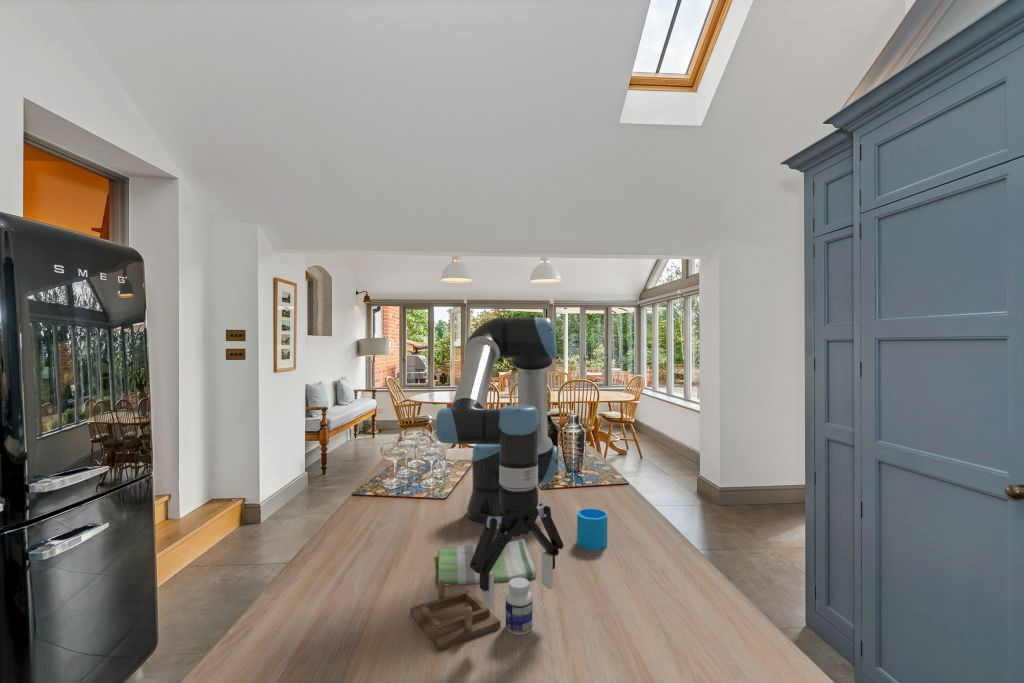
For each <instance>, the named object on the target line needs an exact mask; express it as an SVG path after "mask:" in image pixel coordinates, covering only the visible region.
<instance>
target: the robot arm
mask: <svg viewBox="0 0 1024 683" xmlns="http://www.w3.org/2000/svg"><path fill="white" fill-rule="evenodd" d="M555 332H556V331H555V327H554V322H553V320H551V318H549V317H539V316H533V317H532V316H531V317H528V316H527V317H525V316H524V317H520V316H519V317H496V318H493V319H490V320H488V321H485V322H483V324H481V325H480V326H478V327H477V328H476V329H475V330H474V331H473V332H472V333H471V334H470V336H469V337H468V339H467V341H466V343H465V347H464V354H465V356H466V357H465V360H464V364H463V367H462V370H461V375H460V377H459V381H458V384H457V387H456V390H455V394H454V397H453V400H452V404H451V407H447V408H441V409H440V410H438V412H437V414H436V417H435V418H436V420H435V435H436V438H437V440H438V442H440V443H442V444H450V445H451V444H452V445H474V446H473V448H472V457H471V461H472V492H471V495H470V497H469V500H468V503H467V507H466V509H467V510H466V516H467V518H469V520H472V521H473V522H477V523H484V528H483V530H482V533H481V535H480V538H479V540H478V544H477V545H476V546H477V548H476V550H475V553H474V555H473V558H472V560H471V563H470V568H471V569H472V570H474V571H475V572H476V573H480V583H479V588H480V589H481V590H482V600H483V601H482V603H483V604H484V605H485V606H486V607H487V608H488V609H489V610H490V611H492V610H494V609H495V583H494V573H493V572H492V571H491V569H492V568H493V566H494V564H495V563H496V561H497V559H498V558H499V556H500V554H501V553H502V551H503V549H504V548H505V546H506V544H507V543H508V542H512V541H511V540H512V539H513V538H518V537H520V536H523V535H524V536H525V535H529V533H531V534H532V536H533V537H534V539H536V541H537V542H538V543H539V544H540V545H541V546H542V547H543V549H544V550H543V551H541V554H540V555H541V585H542V586H544V587H546V588H547V589H548V590H553V586H554V583H553V574H554V572H553V570H555V567H556V557H557V556H559V554H560V550H563V548H564V546H565V545H564V542H563V540H562V539H561V535H560V533H559V531H558V529H557V527H556V524H555V522H554V520H553V518H552V511H551V507H550V506H548V505H546V504H544V503H542V502H541V503H539V488H538V486H537V485H541V484H550V483H552V482H553V481H554V478H555V476H556V468H557V459H558V447H557V446H556V445H554V444H553V441H552V438H550V437H549V436H548V434H549V433H548V369H549V368H550V367H551V366H552V365H553V360H555V359H556V358H558V351H557V350H558V349H557V340H556V333H555ZM499 359H511V363H512V366H513V367H514V368H515V369H516V370H517V388H518V389H517V390H518V391H517V392H518V396H517V397H518V404H508V405H504V406H502V407H501V408H500V409H499V408H493V409H492V408H490V409H489V408H486V405H487V400H488V396H489V392H490V391H489V390H490V386H491V381H492V375H493V370H494V366H495V363H497V362H498V360H499ZM538 517H539V518H540V520H541V523H542V525H543V528H544V529H545V531H546V533H547V534H546V535H547V536H548V538H547V536H546V535H545V534H544V532H543V531H542V530H541V528H540V527H539V526H538V524H537V523H536V521H537V519H538ZM499 525H500V526H499ZM559 549H560V550H559Z"/></svg>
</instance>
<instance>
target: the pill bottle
mask: <svg viewBox="0 0 1024 683" xmlns="http://www.w3.org/2000/svg"><path fill="white" fill-rule="evenodd" d="M533 621H534V620H533V594H532V592H531V591H530V581H529V579H524V578H513V579H511V580H510V581H509V582H508V591H507V593H506V594H505V628H506V631H508V632H509V633H510V634H512V635H515V636H524V635H526V634H528V633H530V632H531V631H532V629H533Z"/></svg>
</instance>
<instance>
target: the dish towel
mask: <svg viewBox="0 0 1024 683" xmlns="http://www.w3.org/2000/svg"><path fill="white" fill-rule="evenodd" d="M476 548H477V545H473V544H472V545H471V544H470V545H469V544H467V545H466V544H465V545H453V546H446V547H445V546H443V547H438V548H437V549H438V550H437V560H438V561H437V568H438V570H437V574H438V575H437V576H438V578H437V582H436V583H437V584H438V581H440V580H444V581H445V584H458V585H475V584H476V583H478V584H480V573H476V572H475V571H474V570H472V569H471V568H470V563H471V560H472V558H473V555H474V553H475V550H476ZM491 571H492V572H493V573H494V584H496V583H506V582H507V583H509V581H510V580H511V579H513V578H524V579H527V580H534V578H537V572H536V567H535V565H534V562H533V560H532V559H531V556H530V553H529V552H528V549H527V546H526V541H525V539H524V538H521V539H518V540H513V541H510V542H508V543H507V544H506V546H505V548H504V549H503V551H502V553H501V554H500V556H499V558H498V559H497V561H496V563H495V564H494V566H493V568H492V569H491ZM476 585H477V584H476Z"/></svg>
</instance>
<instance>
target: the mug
mask: <svg viewBox="0 0 1024 683" xmlns="http://www.w3.org/2000/svg"><path fill="white" fill-rule="evenodd" d="M576 543H577V545H578V546H579V547H580V548H583V549H586V550H592V551H594V550H595V551H597V550H599V551H600V550H603V549H605V548H606V547H608V513H607V512H606V511H604V510H602V509H598V508H582V509H579V510H577V513H576Z"/></svg>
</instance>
